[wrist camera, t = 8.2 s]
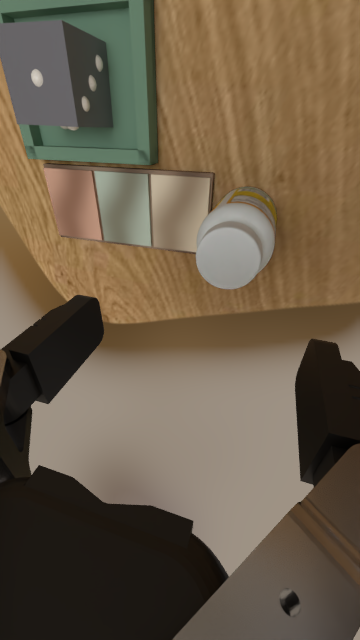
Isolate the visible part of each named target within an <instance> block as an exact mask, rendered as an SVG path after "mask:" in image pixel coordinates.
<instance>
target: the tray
mask: <svg viewBox="0 0 360 640" xmlns="http://www.w3.org/2000/svg"><path fill="white" fill-rule="evenodd" d="M54 20H63V21H65V22H67V23H69V24H71V25H73V26H75V27H77V28H79V29H81V30H83V31H85V32H86V33H88V34H90V35H92V36H94V37H96V38H98V39H100V40H102V41H104V42H106V49H107V60H108V72H109V83H110V94H111V105H112V116H113V128H111V127H79V128H78V129H77V130H75V131H73V130H70V129H63V128H61V127H60V126H46V125H24V124H19V126H20V130H21V134H22V138H23V141H24V145H25V149H26V153H27V156H28V159H44V160H63V161H82V162H101V163H120V164H139V165H152V164H156V163H158V142H157V106H156V70H155V33H154V0H0V23H17V22H35V21H54Z"/></svg>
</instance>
